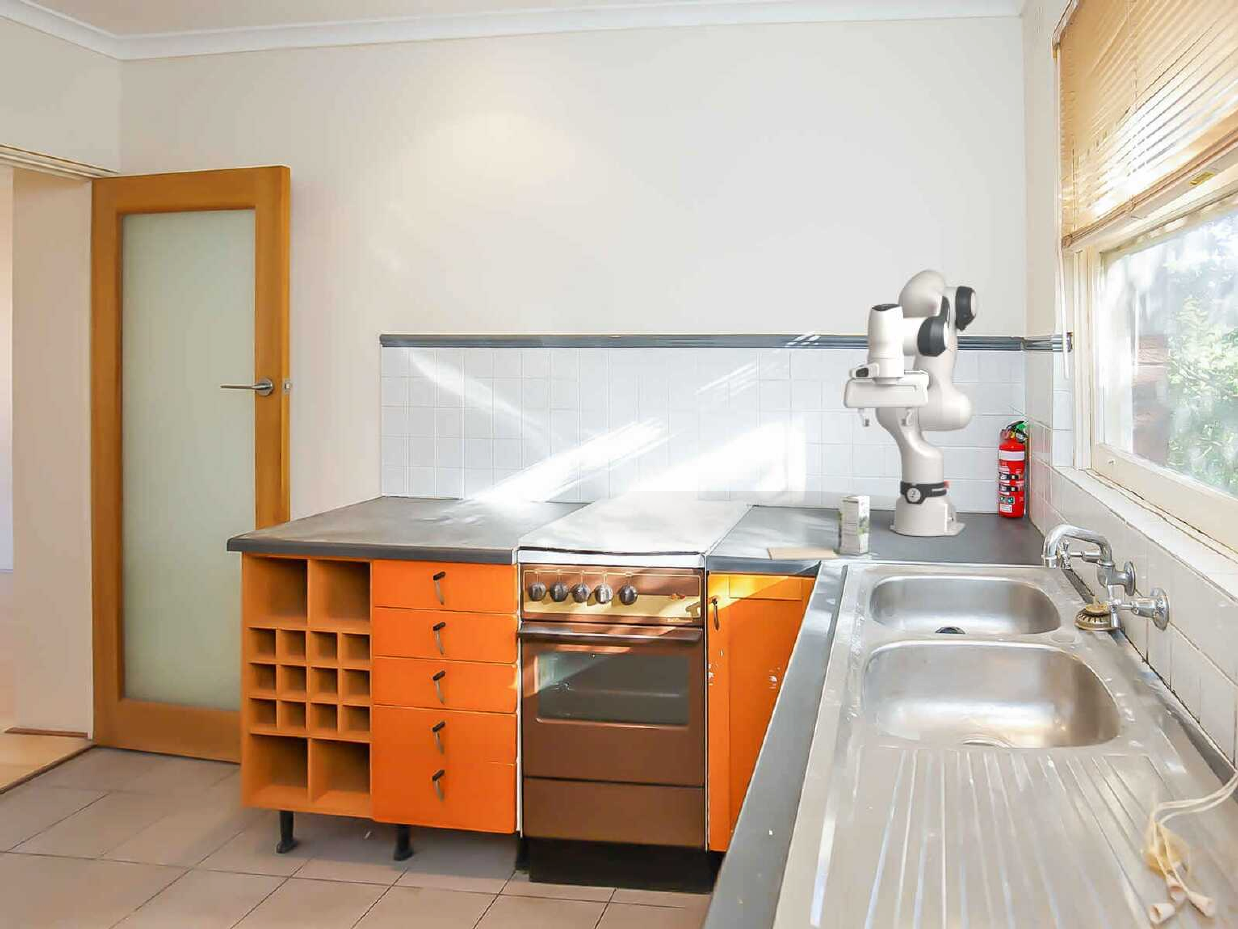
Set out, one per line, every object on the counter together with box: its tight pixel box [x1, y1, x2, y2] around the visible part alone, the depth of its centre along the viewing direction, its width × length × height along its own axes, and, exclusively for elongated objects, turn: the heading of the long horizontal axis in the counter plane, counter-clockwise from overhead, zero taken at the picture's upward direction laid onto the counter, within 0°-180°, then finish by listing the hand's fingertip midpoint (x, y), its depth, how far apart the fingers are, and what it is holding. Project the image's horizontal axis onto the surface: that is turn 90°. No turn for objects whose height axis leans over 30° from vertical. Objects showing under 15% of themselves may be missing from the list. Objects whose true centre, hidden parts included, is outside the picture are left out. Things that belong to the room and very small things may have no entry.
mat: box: [767, 546, 839, 561], centre depth 267 cm, size 16×14×1 cm
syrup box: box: [837, 494, 871, 557], centre depth 265 cm, size 6×6×14 cm
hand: (885, 426), depth 263 cm, fingers open, 8 cm apart
